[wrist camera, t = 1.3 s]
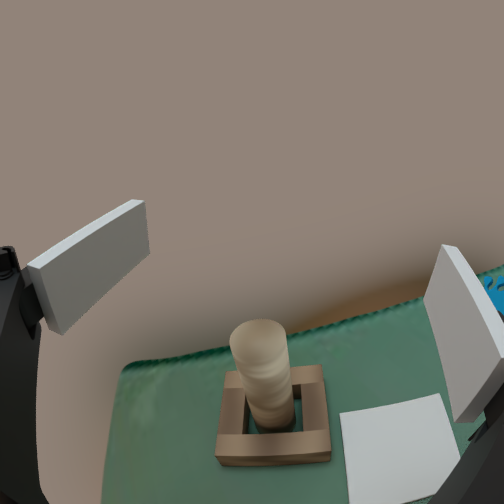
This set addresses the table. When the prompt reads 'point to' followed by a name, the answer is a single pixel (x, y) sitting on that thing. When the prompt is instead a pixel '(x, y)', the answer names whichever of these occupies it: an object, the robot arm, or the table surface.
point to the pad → (398, 451)
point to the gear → (495, 292)
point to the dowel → (265, 374)
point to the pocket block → (279, 444)
